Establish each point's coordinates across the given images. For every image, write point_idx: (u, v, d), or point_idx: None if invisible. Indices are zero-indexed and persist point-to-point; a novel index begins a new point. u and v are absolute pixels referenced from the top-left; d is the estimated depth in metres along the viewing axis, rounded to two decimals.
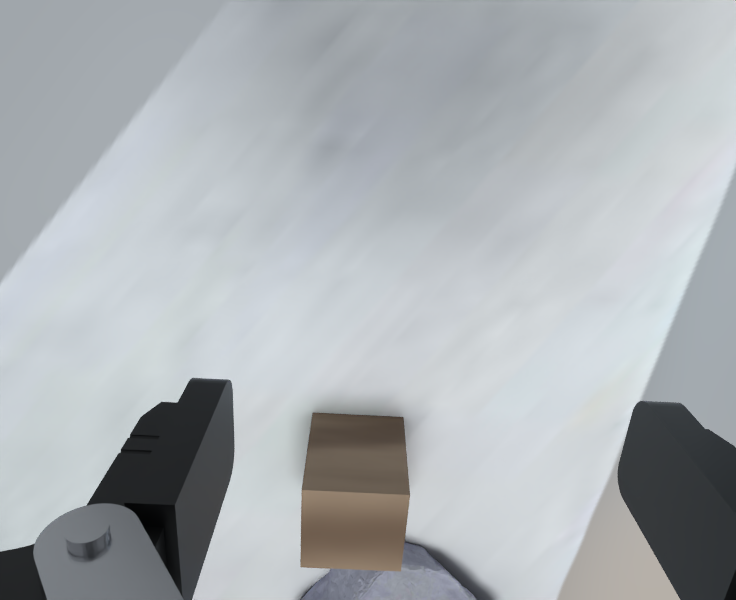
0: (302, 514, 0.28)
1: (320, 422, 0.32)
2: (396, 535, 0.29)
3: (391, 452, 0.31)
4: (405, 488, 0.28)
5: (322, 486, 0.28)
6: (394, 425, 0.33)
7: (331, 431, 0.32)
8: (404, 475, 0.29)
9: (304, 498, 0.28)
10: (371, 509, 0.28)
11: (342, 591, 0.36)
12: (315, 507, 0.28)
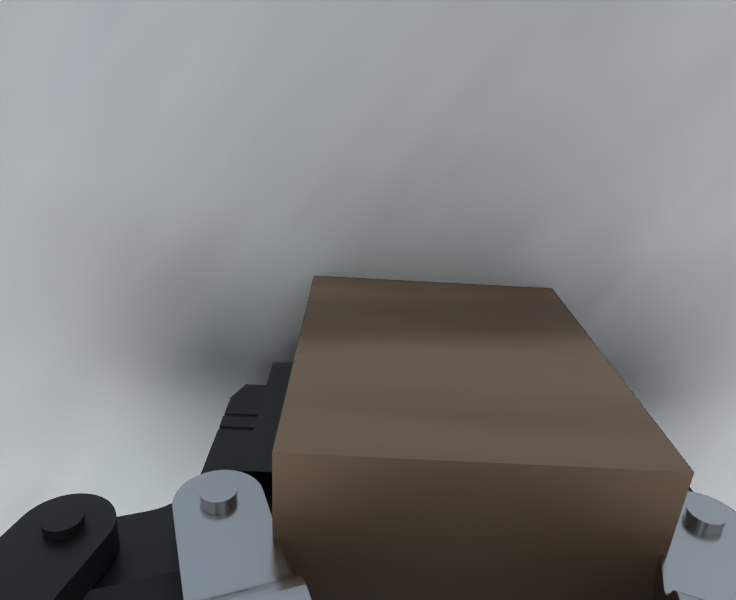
0: None
1: (335, 292, 0.12)
2: None
3: (560, 354, 0.10)
4: (663, 449, 0.08)
5: (351, 440, 0.07)
6: (537, 301, 0.12)
7: (366, 308, 0.11)
8: (634, 410, 0.08)
9: (283, 487, 0.07)
10: (537, 530, 0.07)
11: None
12: (326, 524, 0.07)
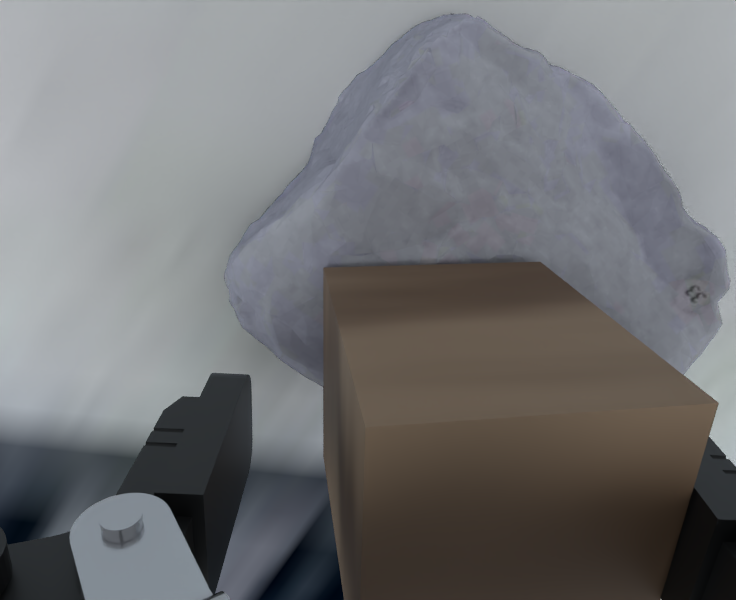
0: (366, 519, 0.08)
1: (351, 281, 0.12)
2: (654, 545, 0.09)
3: (572, 318, 0.11)
4: (688, 388, 0.09)
5: (429, 409, 0.08)
6: (533, 274, 0.13)
7: (387, 294, 0.12)
8: (652, 359, 0.10)
9: (374, 458, 0.08)
10: (593, 470, 0.09)
11: (341, 142, 0.14)
12: (412, 488, 0.08)
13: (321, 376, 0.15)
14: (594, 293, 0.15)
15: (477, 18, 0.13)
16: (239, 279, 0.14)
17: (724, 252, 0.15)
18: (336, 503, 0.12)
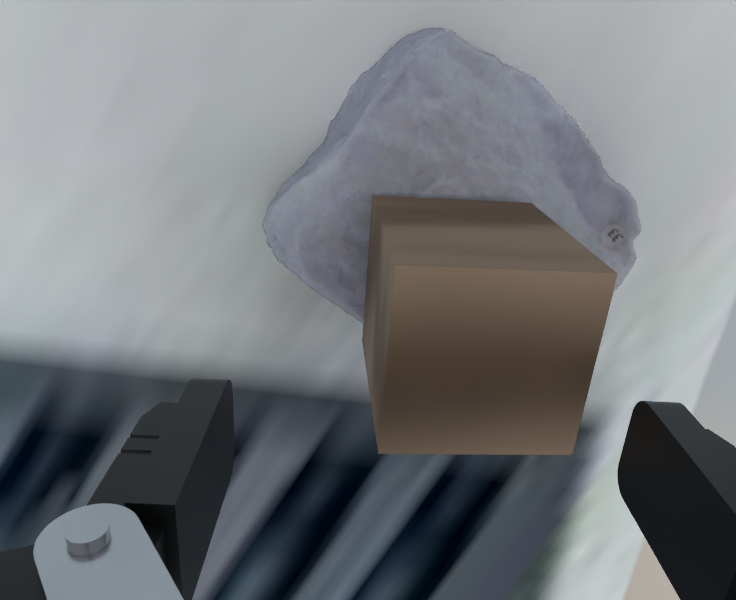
0: (392, 327, 0.14)
1: (391, 203, 0.18)
2: (576, 372, 0.14)
3: (541, 232, 0.16)
4: (602, 266, 0.14)
5: (435, 261, 0.13)
6: (523, 209, 0.18)
7: (416, 211, 0.17)
8: (586, 253, 0.15)
9: (399, 287, 0.13)
10: (535, 311, 0.14)
11: (351, 121, 0.20)
12: (421, 310, 0.13)
13: (336, 296, 0.20)
14: None
15: (449, 31, 0.19)
16: (276, 222, 0.20)
17: (635, 203, 0.20)
18: (371, 355, 0.17)
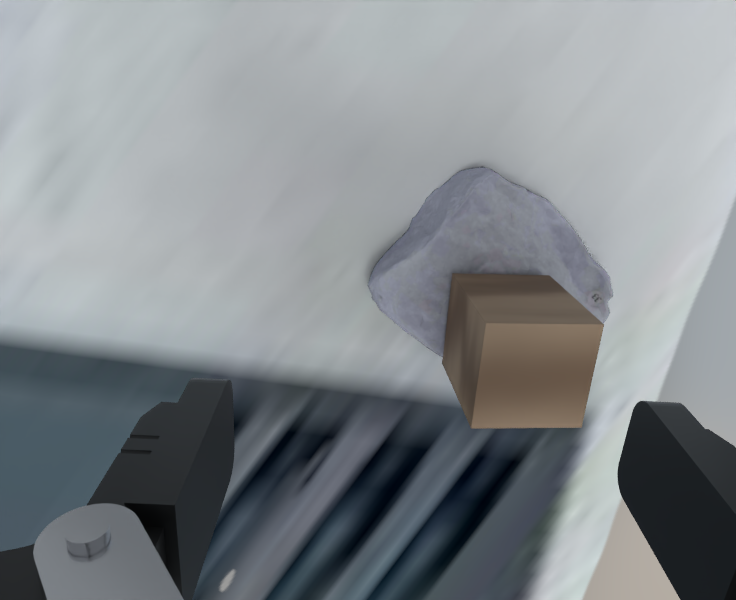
0: (482, 356, 0.25)
1: (466, 279, 0.29)
2: (583, 378, 0.26)
3: (559, 297, 0.27)
4: (595, 320, 0.25)
5: (505, 320, 0.25)
6: (545, 280, 0.30)
7: (483, 285, 0.28)
8: (586, 311, 0.26)
9: (487, 334, 0.24)
10: (559, 345, 0.25)
11: (430, 224, 0.31)
12: (498, 346, 0.25)
13: (417, 334, 0.32)
14: None
15: (495, 172, 0.30)
16: (382, 287, 0.31)
17: (609, 278, 0.32)
18: (457, 372, 0.29)
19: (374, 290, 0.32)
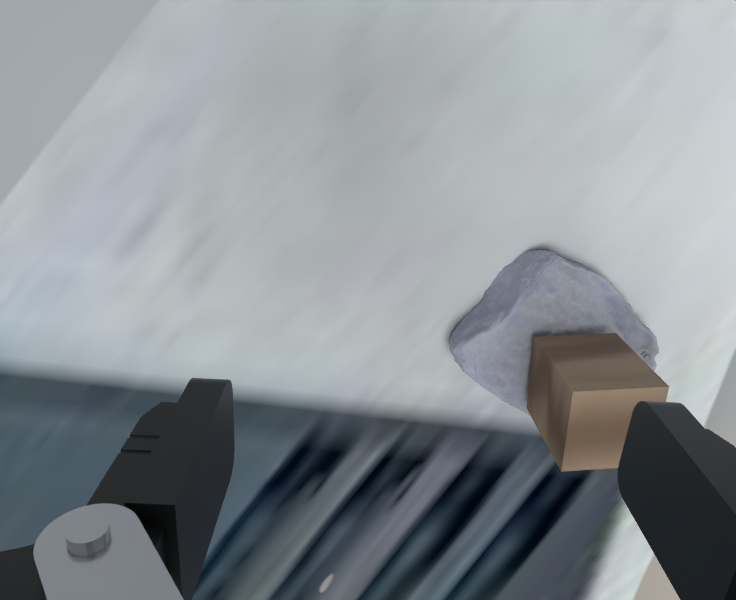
0: (570, 416, 0.31)
1: (547, 343, 0.35)
2: None
3: (628, 359, 0.33)
4: (661, 382, 0.31)
5: (588, 387, 0.31)
6: (613, 339, 0.35)
7: (562, 349, 0.34)
8: (652, 373, 0.32)
9: (574, 400, 0.30)
10: (633, 404, 0.31)
11: (504, 299, 0.37)
12: (583, 408, 0.31)
13: (495, 390, 0.38)
14: None
15: (558, 257, 0.36)
16: (465, 353, 0.37)
17: (655, 338, 0.38)
18: (543, 420, 0.35)
19: (457, 354, 0.38)
